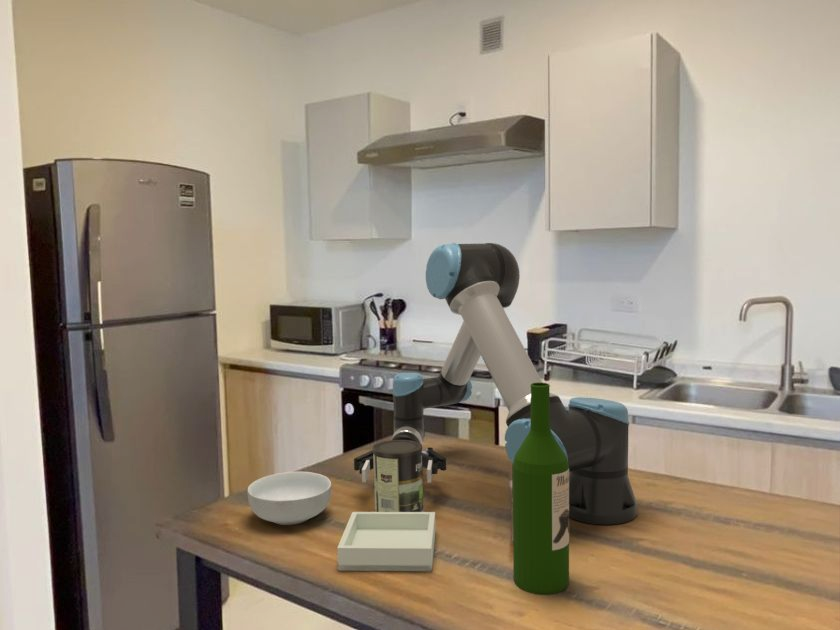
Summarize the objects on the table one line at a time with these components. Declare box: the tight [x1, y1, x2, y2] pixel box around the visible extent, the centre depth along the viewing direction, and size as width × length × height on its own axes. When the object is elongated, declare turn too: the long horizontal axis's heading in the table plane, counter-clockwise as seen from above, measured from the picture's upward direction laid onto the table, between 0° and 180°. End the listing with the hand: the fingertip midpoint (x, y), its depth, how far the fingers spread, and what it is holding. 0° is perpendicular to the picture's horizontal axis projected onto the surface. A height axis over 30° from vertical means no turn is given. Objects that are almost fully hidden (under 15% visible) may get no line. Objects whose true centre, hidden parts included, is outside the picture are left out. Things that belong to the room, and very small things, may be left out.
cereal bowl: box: [246, 471, 332, 526], centre depth 139 cm, size 17×17×7 cm
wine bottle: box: [512, 382, 570, 595], centre depth 109 cm, size 9×9×32 cm
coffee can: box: [371, 439, 425, 512], centre depth 140 cm, size 10×10×14 cm
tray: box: [336, 511, 436, 572], centre depth 123 cm, size 16×16×4 cm
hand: (396, 476), depth 141 cm, fingers open, 13 cm apart
